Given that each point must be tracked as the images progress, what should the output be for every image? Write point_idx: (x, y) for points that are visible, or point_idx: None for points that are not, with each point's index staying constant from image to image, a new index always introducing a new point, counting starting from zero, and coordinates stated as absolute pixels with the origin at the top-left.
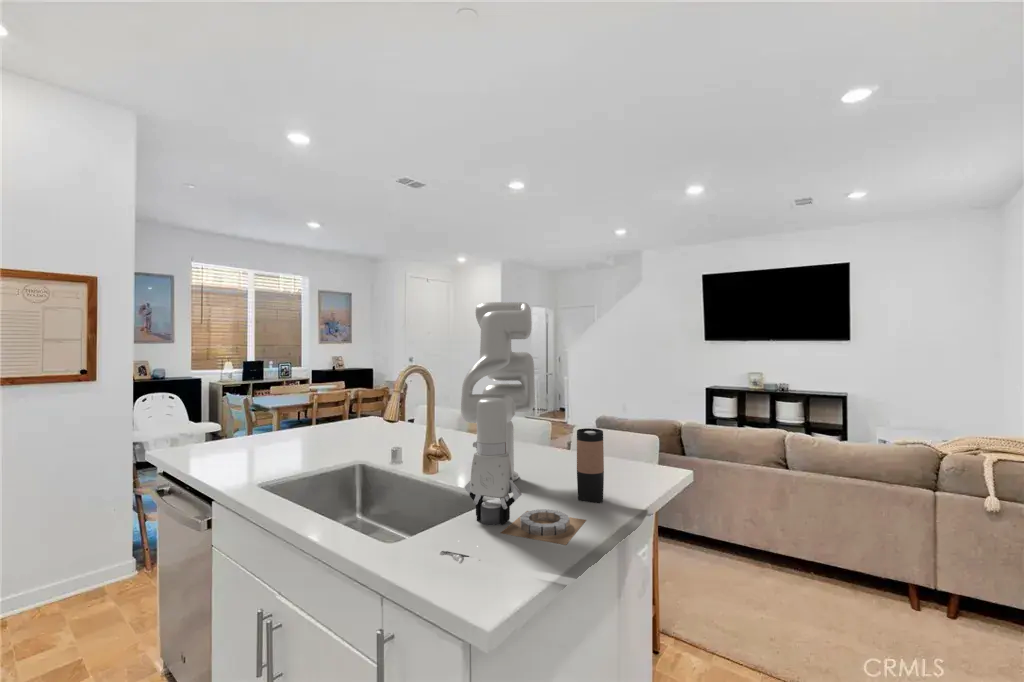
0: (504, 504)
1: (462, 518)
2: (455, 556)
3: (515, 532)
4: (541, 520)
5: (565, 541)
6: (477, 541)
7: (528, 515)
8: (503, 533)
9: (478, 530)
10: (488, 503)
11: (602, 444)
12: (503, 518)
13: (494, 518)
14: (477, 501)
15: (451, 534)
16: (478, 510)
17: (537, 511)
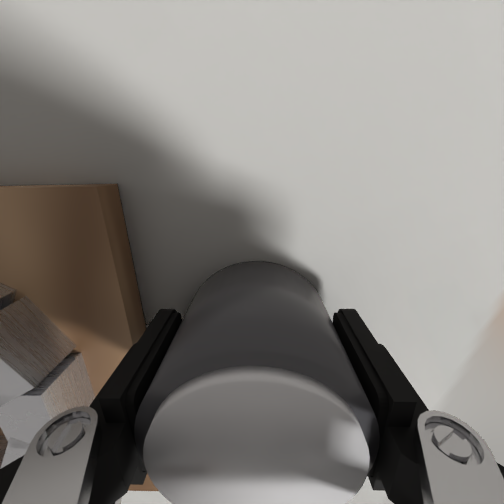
0: (45, 459)
1: (466, 344)
2: None
3: (20, 239)
4: None
5: None
6: (216, 60)
7: (5, 419)
8: (69, 187)
9: (301, 234)
10: (294, 454)
11: None
12: (144, 340)
13: (197, 313)
14: (435, 450)
15: (456, 88)
16: (369, 359)
17: None
